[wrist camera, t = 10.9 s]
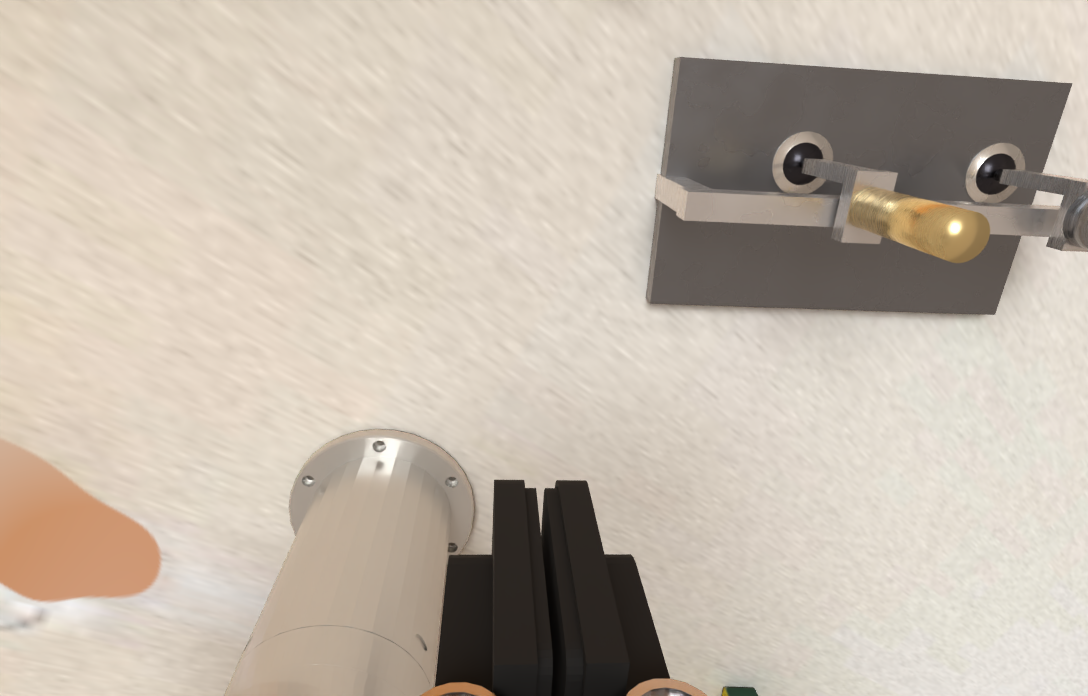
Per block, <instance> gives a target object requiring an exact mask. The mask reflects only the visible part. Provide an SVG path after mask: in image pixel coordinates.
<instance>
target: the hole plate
mask: <svg viewBox="0 0 1088 696" xmlns="http://www.w3.org/2000/svg"><path fill="white" fill-rule="evenodd" d="M1071 86H1072V83H1057V82H1042V81H1028V80H1013V79H998V78H983V77H968V76H953V75H938V74H923V73H909V72H894V71H879V70H864V69H849V68H834V67H819V66H804V65H790V64H775V63H760V62H745V61H730V60H715V59H700V58H685V57H679V58H675V61H674V69H673V77H672V85H671V94H670V102H669V110H668V119H667V127H666V135H665V143H664V152H663V160H662V168H661V174H662V175H664V176H666V177H686V178H688V179H691V180H693V181H695V182H697V183H700V184H702V185H704V186H706V187H709V188H711V189H721V190H742V191H762V192H782V193H803V194H823V195H841V192H842V187H843V184H842V183H838V182H835V181H831V180H827V179H823V178H819V177H815V176H812V175H808V174H804V173H802V168H801V163H802V161H803V160H804V158H809V159H825V160H830V161H835V162H840V163H845V164H850V165H855V166H860V167H865V168H870V169H875V170H886V171H891V172H896V173H898V175H897V179H896V183H895V187H894V192H898V193H902V194H906V195H910V196H914V197H918V198H922V199H926V200H945V201H966V202H986V203H1006V204H1027V205H1032V202H1033V199H1034V196H1035V193H1036V190H1034V189H1028V188H1022V187H1017V186H1011V185H1006V184H1000V183H999V182H1000V181H996V180H995V179H994V174H995V172H996V171H997V170H999V169H1010V170H1025V171H1032V172H1039V173H1042V172H1043V169H1044V167H1045V164H1046V161H1047V158H1048V155H1049V152H1050V149H1051V146H1052V143H1053V140H1054V137H1055V134H1056V131H1057V128H1058V125H1059V122H1060V119H1061V116H1062V113H1063V110H1064V107H1065V104H1066V101H1067V98H1068V95H1069V92H1070V89H1071ZM832 232H833V227H818V226H796V225H773V224H751V223H729V222H706V221H684V220H682V219H681V218H679V217H678V216H676V211H674V210H673V209H671V208H670V207H668V206H667V205H665V204H664V203H662V202H660V201H659V200H658V202H657V210H656V218H655V226H654V235H653V243H652V251H651V260H650V268H649V276H648V284H647V293H646V298H647V300H648V301H649V302H650V303H655V304H685V305H716V306H746V307H777V308H807V309H837V310H868V311H898V312H929V313H959V314H989V315H995V313H996V310H997V307H998V304H999V301H1000V298H1001V295H1002V292H1003V289H1004V286H1005V283H1006V280H1007V277H1008V274H1009V271H1010V268H1011V265H1012V262H1013V259H1014V256H1015V253H1016V250H1017V247H1018V244H1019V241H1020V238H1021V236H1020V235H998V234H990V236H989V240H988V242H987V244H986V246H985V248H984V249H983V250H982V251H981V253H980V254H978V255H977V256H976V257H975V258H973V259H971V260H969V261H967V262H963V263H952V262H949V261H947V260H944V259H941V258H938V257H936V256H933V255H930V254H928V253H925V252H922V251H920V250H917V249H914V248H911V247H909V246H906V245H903V244H901V243H898V242H895V241H893V240H890V239H887V238H885V237H882V238H881V242H880V244H866V243H843V242H839V241H837V240H834V239H832V238H831V236H832Z"/></svg>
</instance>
